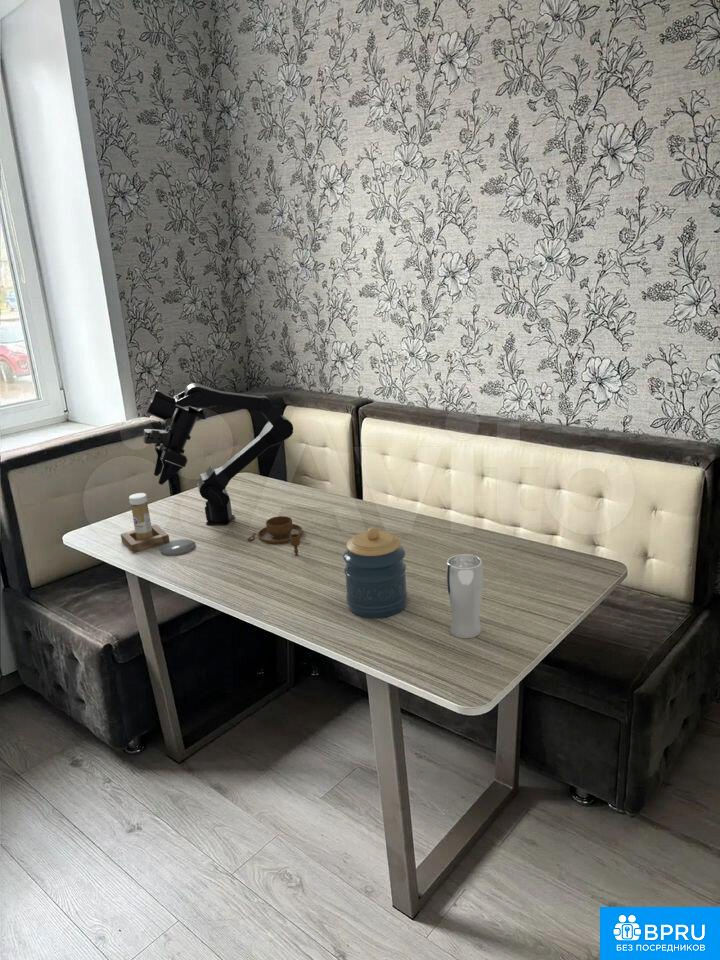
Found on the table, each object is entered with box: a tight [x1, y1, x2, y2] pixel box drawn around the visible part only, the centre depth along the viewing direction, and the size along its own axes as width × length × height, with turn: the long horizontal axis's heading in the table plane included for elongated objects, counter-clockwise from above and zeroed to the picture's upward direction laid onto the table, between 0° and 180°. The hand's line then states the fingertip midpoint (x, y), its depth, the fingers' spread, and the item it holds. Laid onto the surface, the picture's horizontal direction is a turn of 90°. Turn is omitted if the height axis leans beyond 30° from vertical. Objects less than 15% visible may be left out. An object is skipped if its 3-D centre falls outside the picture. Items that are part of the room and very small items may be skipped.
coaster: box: [159, 538, 196, 556], centre depth 193 cm, size 9×9×1 cm
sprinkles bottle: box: [128, 492, 154, 541], centre depth 197 cm, size 5×5×13 cm
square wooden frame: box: [120, 524, 170, 554], centre depth 198 cm, size 10×10×2 cm
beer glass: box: [445, 553, 484, 639], centre depth 142 cm, size 7×7×15 cm
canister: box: [342, 526, 408, 619], centre depth 154 cm, size 13×13×18 cm
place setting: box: [246, 515, 311, 557], centre depth 192 cm, size 18×20×6 cm
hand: (157, 479), depth 200 cm, fingers open, 9 cm apart
